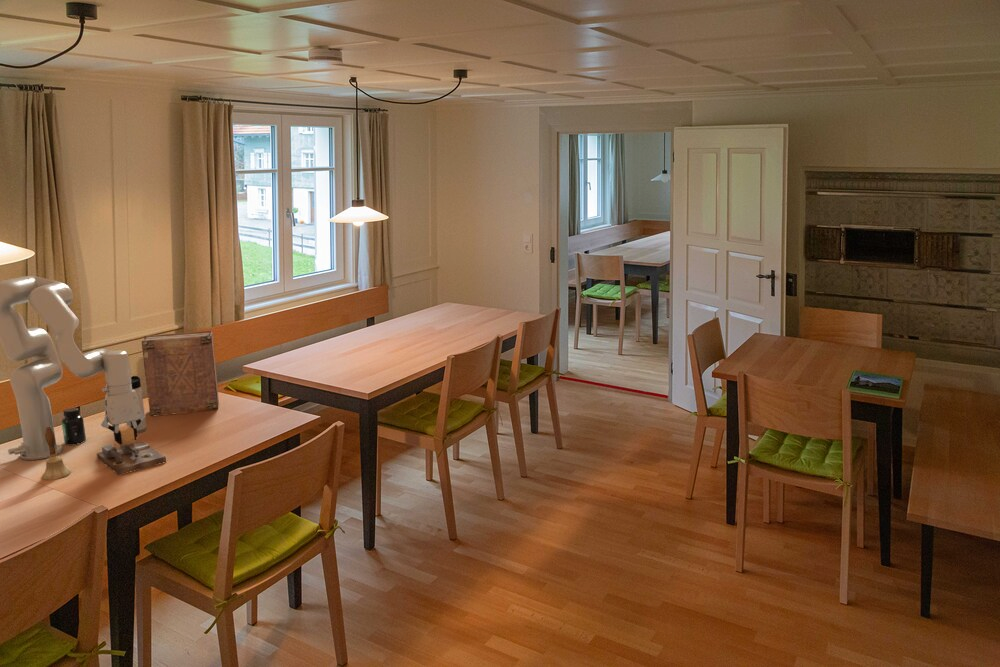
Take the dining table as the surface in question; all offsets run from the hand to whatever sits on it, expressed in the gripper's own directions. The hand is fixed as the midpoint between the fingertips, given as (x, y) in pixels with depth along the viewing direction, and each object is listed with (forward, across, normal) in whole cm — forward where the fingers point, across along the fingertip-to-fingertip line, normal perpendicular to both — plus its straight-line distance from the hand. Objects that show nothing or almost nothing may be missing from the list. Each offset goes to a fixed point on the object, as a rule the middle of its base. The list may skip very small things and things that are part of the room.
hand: (126, 440), depth 272 cm
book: (+6, +35, +38) cm, 52 cm away
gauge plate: (+6, 0, -3) cm, 7 cm away
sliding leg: (+4, 0, -3) cm, 5 cm away
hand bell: (+6, -22, +2) cm, 23 cm away
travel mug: (+6, +12, +26) cm, 29 cm away
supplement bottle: (+6, -8, +30) cm, 32 cm away
